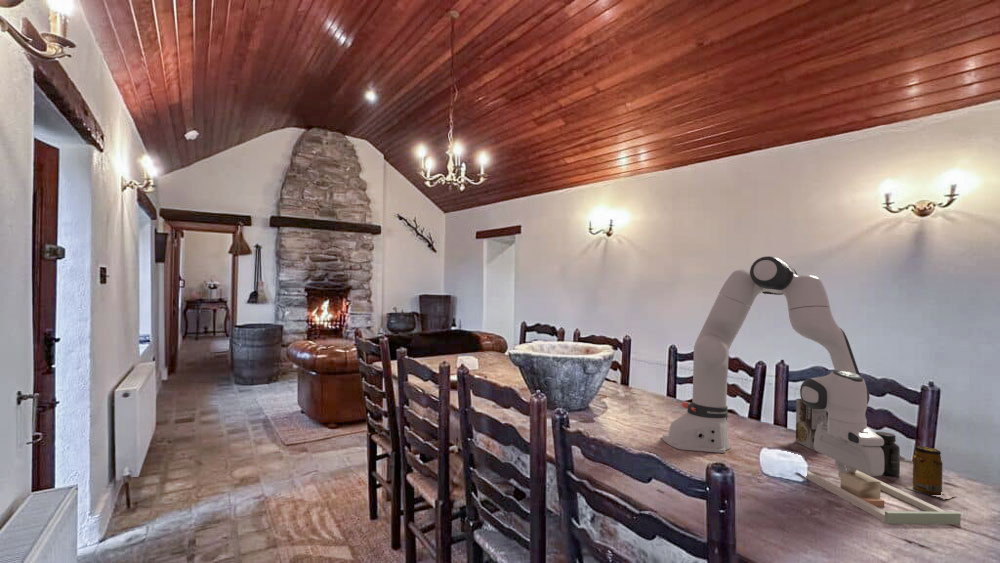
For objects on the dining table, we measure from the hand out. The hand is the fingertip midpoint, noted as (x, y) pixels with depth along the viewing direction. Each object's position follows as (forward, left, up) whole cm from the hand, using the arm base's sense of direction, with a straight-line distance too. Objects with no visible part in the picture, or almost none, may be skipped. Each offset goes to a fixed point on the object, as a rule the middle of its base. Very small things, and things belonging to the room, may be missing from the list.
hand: (845, 479), depth 128 cm
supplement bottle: (+23, +12, -3) cm, 26 cm away
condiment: (+23, -2, -3) cm, 24 cm away
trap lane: (+2, -4, -2) cm, 6 cm away
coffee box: (+18, +36, -3) cm, 40 cm away
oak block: (0, -5, -2) cm, 5 cm away
